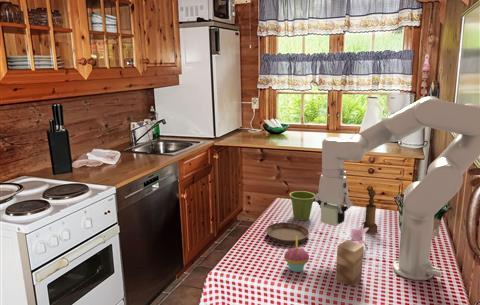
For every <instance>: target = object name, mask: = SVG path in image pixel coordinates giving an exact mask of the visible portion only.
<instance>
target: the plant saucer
mask: <svg viewBox="0 0 480 305" xmlns="http://www.w3.org/2000/svg"><path fill="white" fill-rule="evenodd" d="M265 231H266V233H267V235H268V237H269V238H270V239H271V240H272V241H274V242H276V243H278V244H282V245H296V236H297V237H298V244H300V243H302V242H304V240H307V238H308V237H309V235H310V230H308V228H307V227H305V226H303V225H301V224H298V223H294V222H283V221H282V222H275V223H271V224H269V225H268V226H267V227H266V229H265Z"/></svg>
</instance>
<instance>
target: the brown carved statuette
mask: <svg viewBox="0 0 480 305" xmlns="http://www.w3.org/2000/svg"><path fill="white" fill-rule="evenodd" d="M376 194H377V192H376V191H375V190H374V189H369V190H368V192H367V195H368V197H369V199H368V204H366V205H365V206H366V207H365V216H364V217H365V218H364V221H363V222H362V223H361V226H362V225H363V224H364V226H363V229H364V228H369V229H368V230H367V231H366V232H365V233H368V234H374V233H375V234H376V233H377V232H378V229H379V228H378V227H379V226H378V224H377V223H375V222H376V212H377V211H376V210H377V205H375V204H374V203H375V200H374V198H375V197H376Z"/></svg>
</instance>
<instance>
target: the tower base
mask: <svg viewBox="0 0 480 305" xmlns="http://www.w3.org/2000/svg"><path fill="white" fill-rule="evenodd" d="M335 267H336V269H335V280H336V281H338V282H341V283H343V284H345V285H348V286H351V287H353V286H355V285H356V284H357V283H358V282H360V281H361V280H362V274H363V263H361V264H360V265H359V266H357V267H356V268H354V269H351V268H349V267H346V266H344V265H341V264H338V263H337V262H336V266H335Z"/></svg>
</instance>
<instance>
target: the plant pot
mask: <svg viewBox="0 0 480 305" xmlns="http://www.w3.org/2000/svg"><path fill="white" fill-rule="evenodd" d="M315 195H316V194H315V193H313V192H310V191H305V190H298V191H297V190H296V191H292V192H289V197H290V201H291V206H292V214H293V218H294V219H295V220H297V221H308V220H309V219H310V217H311V213H312V207H313V203H314V200H315V198H314V196H315Z"/></svg>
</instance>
